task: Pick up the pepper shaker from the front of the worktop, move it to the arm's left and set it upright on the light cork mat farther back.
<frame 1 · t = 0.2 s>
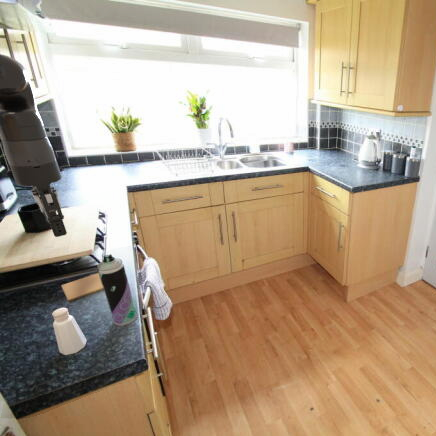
hand: (57, 229, 73), 28 cm above the worktop, tool pointing down, fingers open, 8 cm apart
spray can: (126, 319, 87), on the worktop
pepper shaker: (74, 347, 78), on the worktop
cork mat: (82, 288, 98), on the worktop
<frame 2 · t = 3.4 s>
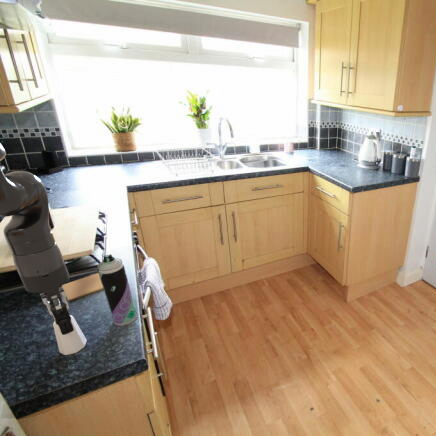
hand: (66, 327, 75), 6 cm above the worktop, tool pointing down, fingers closed on pepper shaker, 4 cm apart
pepper shaker: (74, 347, 78), on the worktop, touching gripper
everything else where it was.
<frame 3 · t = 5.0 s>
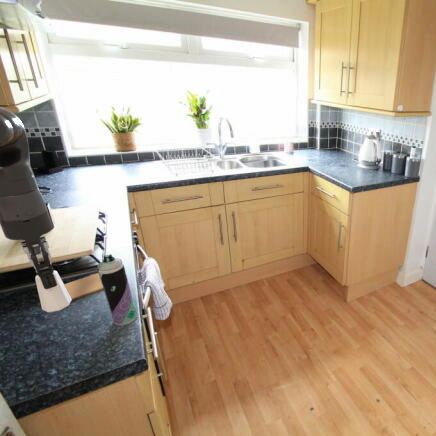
hand: (49, 282, 71), 18 cm above the worktop, tool pointing down, fingers closed on pepper shaker, 4 cm apart
pepper shaker: (57, 305, 73), point 12 cm above the worktop, touching gripper
everything else where it was.
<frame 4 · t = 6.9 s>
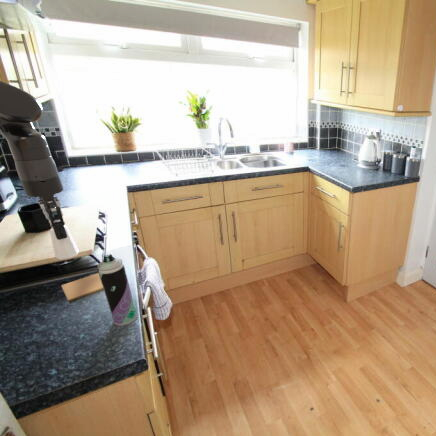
hand: (60, 235, 87), 20 cm above the worktop, tool pointing down, fingers closed on pepper shaker, 4 cm apart
pepper shaker: (68, 255, 90), point 14 cm above the worktop, touching gripper
everything else where it was.
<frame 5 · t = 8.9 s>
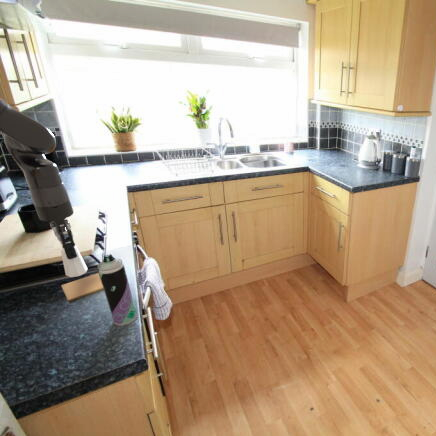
hand: (70, 254, 93), 12 cm above the worktop, tool pointing down, fingers closed on pepper shaker, 4 cm apart
pepper shaker: (77, 273, 96), point 6 cm above the worktop, touching gripper
everything else where it was.
when the fingers open (7 cm above the worktop, at t = 10.5 s): pepper shaker stays where it is, resting on cork mat.
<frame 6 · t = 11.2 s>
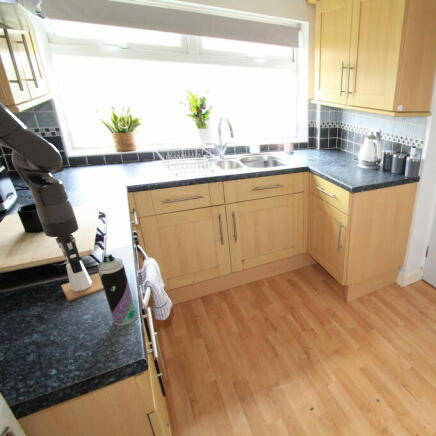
hand: (74, 266, 95), 8 cm above the worktop, tool pointing down, fingers open, 8 cm apart
pepper shaker: (82, 286, 98), resting on cork mat
everything else where it was.
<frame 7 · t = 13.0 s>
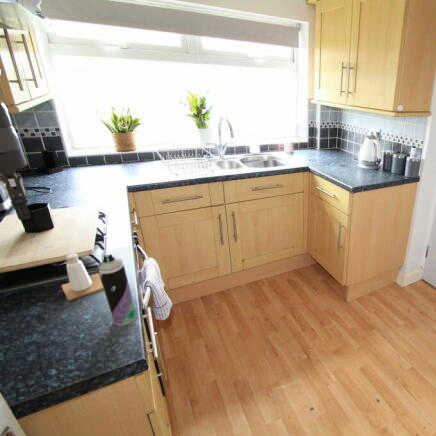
hand: (22, 213, 78), 29 cm above the worktop, tool pointing down, fingers open, 8 cm apart
nothing on the worktop moved.
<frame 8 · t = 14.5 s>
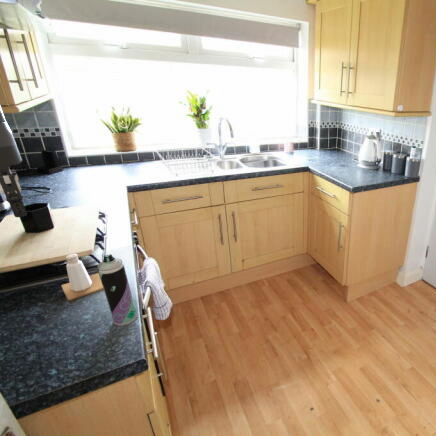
hand: (19, 210, 77), 30 cm above the worktop, tool pointing down, fingers open, 8 cm apart
nothing on the worktop moved.
at the end: pepper shaker inside the target area on the cork mat (0.1 cm from its centre), point 0.4 cm above the cork mat's base; pepper shaker tilted 0°; the gripper is holding nothing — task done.
